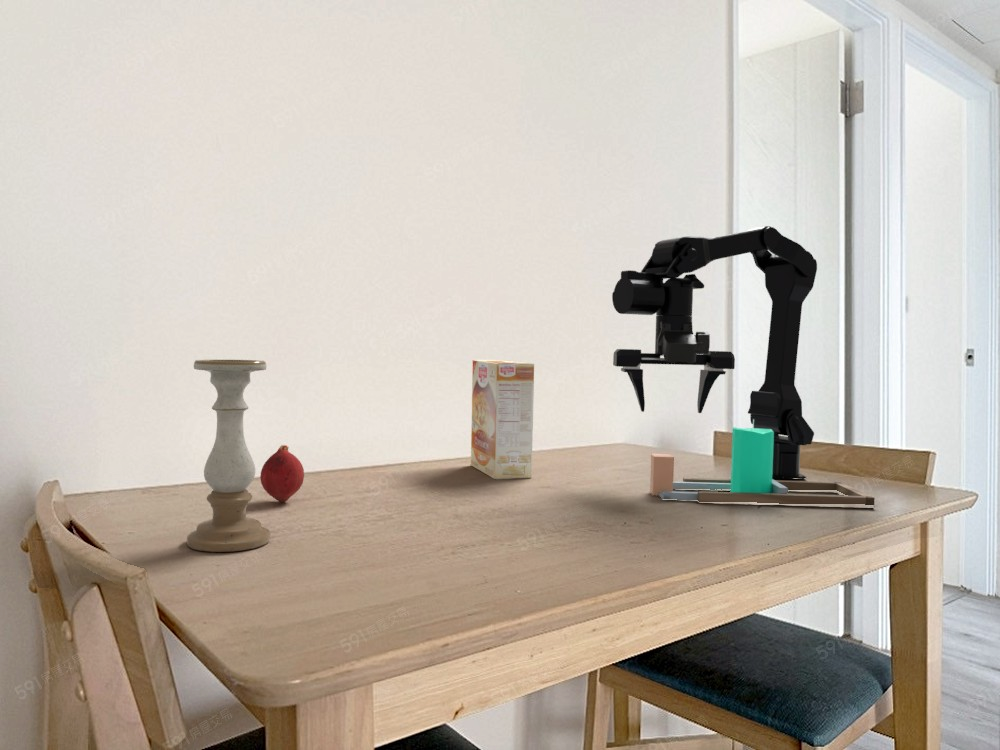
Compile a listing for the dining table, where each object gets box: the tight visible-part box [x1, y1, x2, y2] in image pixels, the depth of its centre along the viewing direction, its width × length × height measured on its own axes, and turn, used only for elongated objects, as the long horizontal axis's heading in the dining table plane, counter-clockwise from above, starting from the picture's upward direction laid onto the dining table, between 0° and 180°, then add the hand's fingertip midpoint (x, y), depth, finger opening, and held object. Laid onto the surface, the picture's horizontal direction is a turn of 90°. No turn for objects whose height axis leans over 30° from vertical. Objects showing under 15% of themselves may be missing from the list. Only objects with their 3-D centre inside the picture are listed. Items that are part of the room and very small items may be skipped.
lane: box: [682, 477, 875, 506], centre depth 122 cm, size 13×25×2 cm, turn 88°
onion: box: [260, 444, 305, 503], centre depth 111 cm, size 6×6×8 cm
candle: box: [730, 419, 774, 493], centre depth 122 cm, size 6×6×12 cm
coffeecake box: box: [470, 359, 535, 480], centre depth 140 cm, size 15×7×20 cm, turn 17°
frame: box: [649, 453, 789, 500], centre depth 122 cm, size 10×19×6 cm, turn 88°
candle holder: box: [186, 359, 271, 553], centre depth 89 cm, size 9×9×20 cm
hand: (671, 412), depth 130 cm, fingers open, 9 cm apart
